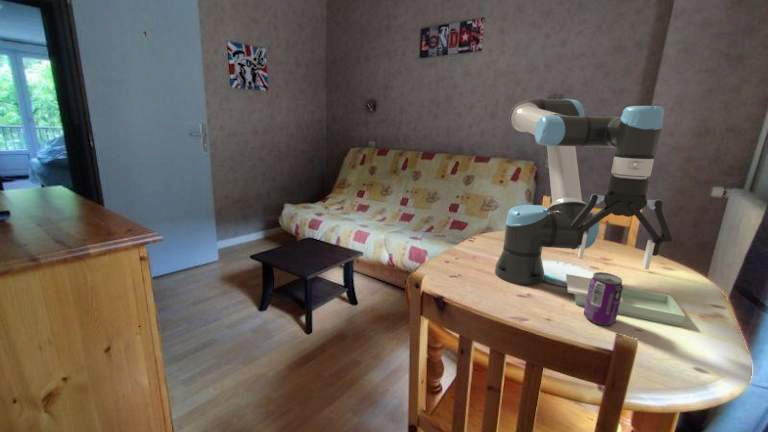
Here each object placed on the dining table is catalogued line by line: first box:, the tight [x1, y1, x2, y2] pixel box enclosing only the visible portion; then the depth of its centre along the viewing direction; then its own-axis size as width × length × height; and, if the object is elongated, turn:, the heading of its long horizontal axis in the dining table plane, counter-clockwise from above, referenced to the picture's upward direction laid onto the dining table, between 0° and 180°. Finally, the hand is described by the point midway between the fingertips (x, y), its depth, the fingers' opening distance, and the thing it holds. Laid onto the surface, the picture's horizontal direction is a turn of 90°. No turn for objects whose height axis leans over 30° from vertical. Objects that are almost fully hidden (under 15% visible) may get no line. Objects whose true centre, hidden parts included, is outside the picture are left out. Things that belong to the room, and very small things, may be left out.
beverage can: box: [583, 271, 624, 326], centre depth 87 cm, size 7×7×12 cm
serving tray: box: [573, 286, 686, 328], centre depth 96 cm, size 24×12×3 cm, turn 65°
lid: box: [565, 273, 623, 303], centre depth 99 cm, size 13×12×3 cm
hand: (611, 262), depth 84 cm, fingers open, 13 cm apart
